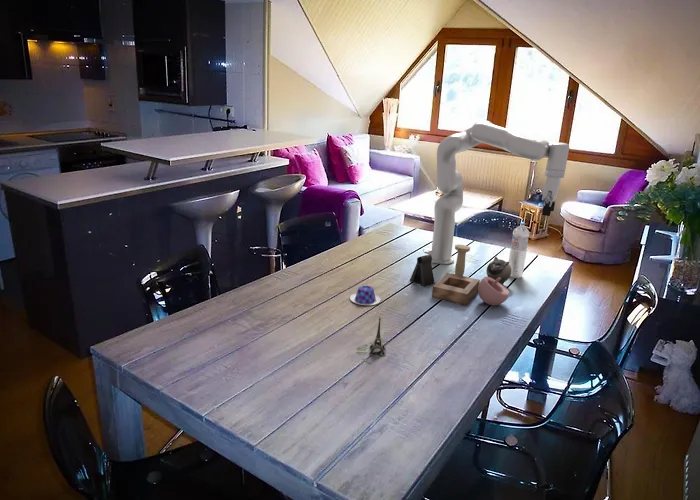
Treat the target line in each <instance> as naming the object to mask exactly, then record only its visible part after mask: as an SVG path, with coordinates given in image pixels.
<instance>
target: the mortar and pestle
mask: <svg viewBox="0 0 700 500" xmlns="http://www.w3.org/2000/svg"><path fill="white" fill-rule="evenodd" d="M499 280H501V278H500V277H499V278H497V279H496V280H494V279H492V278H490V277H488V276H484V277H483V278H482V279H480V282H479V285H478V292H477V293H478V296H479V298H480V301H482V302H484V303H485V304H486V305H489V306H499V305H501V304H503V303H504V302H506V301H507V299H508V298H509V296H510V291H509V290H508V288H507V287H506V288H505V287H504V286H503V285H501V284H500V283H499V282H498V281H499Z"/></svg>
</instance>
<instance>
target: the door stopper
mask: <svg viewBox="0 0 700 500" xmlns="http://www.w3.org/2000/svg"><path fill="white" fill-rule="evenodd" d="M428 255H429V254H426V255H421V256H418V257H417V258H416V264H415V266H414V268H413V272H412V273H411V275H410V278H409V281H410V282H412V283H414V284H416V285H419V286H421V287H423V288H427V287H429V286H433V285H434V284H435V283H436V282H435V277H434V270H433V262H431V261H432V257H431V255H429V256H428Z"/></svg>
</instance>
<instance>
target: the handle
mask: <svg viewBox="0 0 700 500" xmlns="http://www.w3.org/2000/svg"><path fill="white" fill-rule="evenodd" d="M454 249H455V250H456V251H457V256H456V263H455V268H454V274H456V275H461V276H464V274H465V271H466V270H465V267H466V256H467V255H466V254H467V253H468V252H470V251H471V247H470V246H468V245H464V244H455V246H454Z"/></svg>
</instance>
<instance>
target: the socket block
mask: <svg viewBox="0 0 700 500" xmlns="http://www.w3.org/2000/svg"><path fill="white" fill-rule="evenodd" d="M480 281H481V279H478V278H474V277H469V276H464V275H463V276H461V275H456V274H455V273H451V272H446V273H445V274H444V275H443V276H442V277H440V278H439V280H437V282H435V284H433V285H432V289H431V298H432V299H436V300H440V301H444V302H448V303H452V304H456V305H459V306H464V307H467V305H468V304H469V302H471V300H472V299H474V297H475V295H476V294H477V293H478V285H479V283H480Z"/></svg>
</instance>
